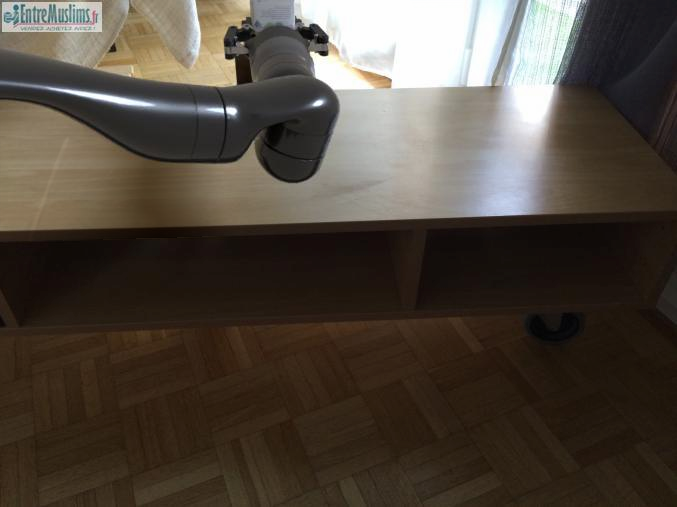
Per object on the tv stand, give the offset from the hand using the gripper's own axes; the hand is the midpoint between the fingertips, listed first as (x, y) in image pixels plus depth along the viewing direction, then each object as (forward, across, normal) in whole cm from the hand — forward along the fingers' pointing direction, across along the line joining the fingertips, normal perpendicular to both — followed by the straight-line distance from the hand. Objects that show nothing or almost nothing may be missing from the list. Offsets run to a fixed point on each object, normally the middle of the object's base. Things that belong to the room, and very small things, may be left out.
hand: (271, 23), depth 87 cm
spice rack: (-2, 0, -14) cm, 15 cm away
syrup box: (-2, 0, -8) cm, 9 cm away
